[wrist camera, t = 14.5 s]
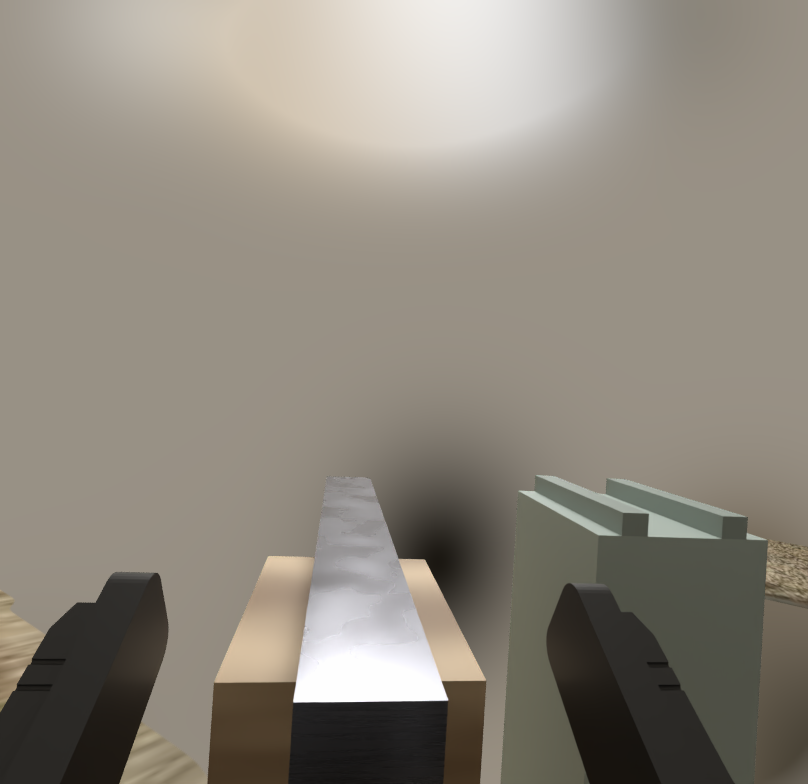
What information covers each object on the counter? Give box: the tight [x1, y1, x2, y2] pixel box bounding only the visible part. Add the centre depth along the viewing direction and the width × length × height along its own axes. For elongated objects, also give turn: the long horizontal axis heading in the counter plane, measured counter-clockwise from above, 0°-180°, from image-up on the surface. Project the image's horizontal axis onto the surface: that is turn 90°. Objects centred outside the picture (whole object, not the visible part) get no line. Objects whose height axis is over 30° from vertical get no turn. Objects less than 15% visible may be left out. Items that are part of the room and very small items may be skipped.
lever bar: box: [288, 476, 448, 784], centre depth 19 cm, size 22×2×2 cm, turn 7°
